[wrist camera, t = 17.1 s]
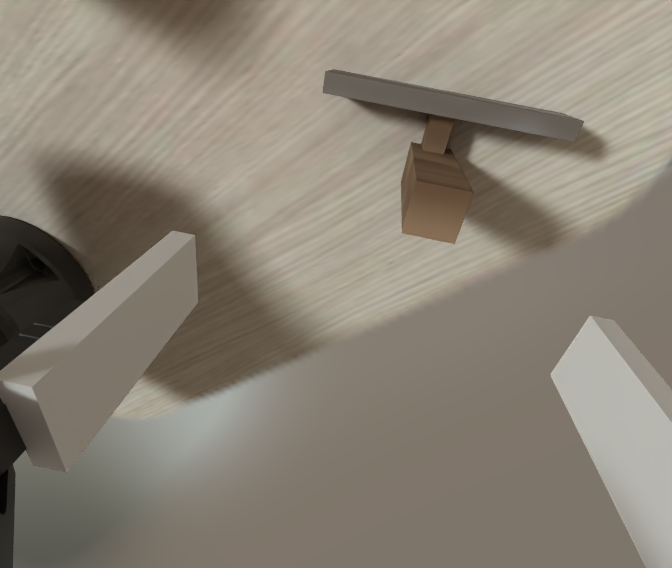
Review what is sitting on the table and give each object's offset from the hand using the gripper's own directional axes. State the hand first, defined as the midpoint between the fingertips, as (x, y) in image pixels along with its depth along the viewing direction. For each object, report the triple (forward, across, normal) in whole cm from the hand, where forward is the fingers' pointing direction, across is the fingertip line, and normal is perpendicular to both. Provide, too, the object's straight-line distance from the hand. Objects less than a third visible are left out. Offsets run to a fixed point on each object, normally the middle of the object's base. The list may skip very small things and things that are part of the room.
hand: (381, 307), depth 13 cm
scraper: (+19, -3, -2) cm, 19 cm away
